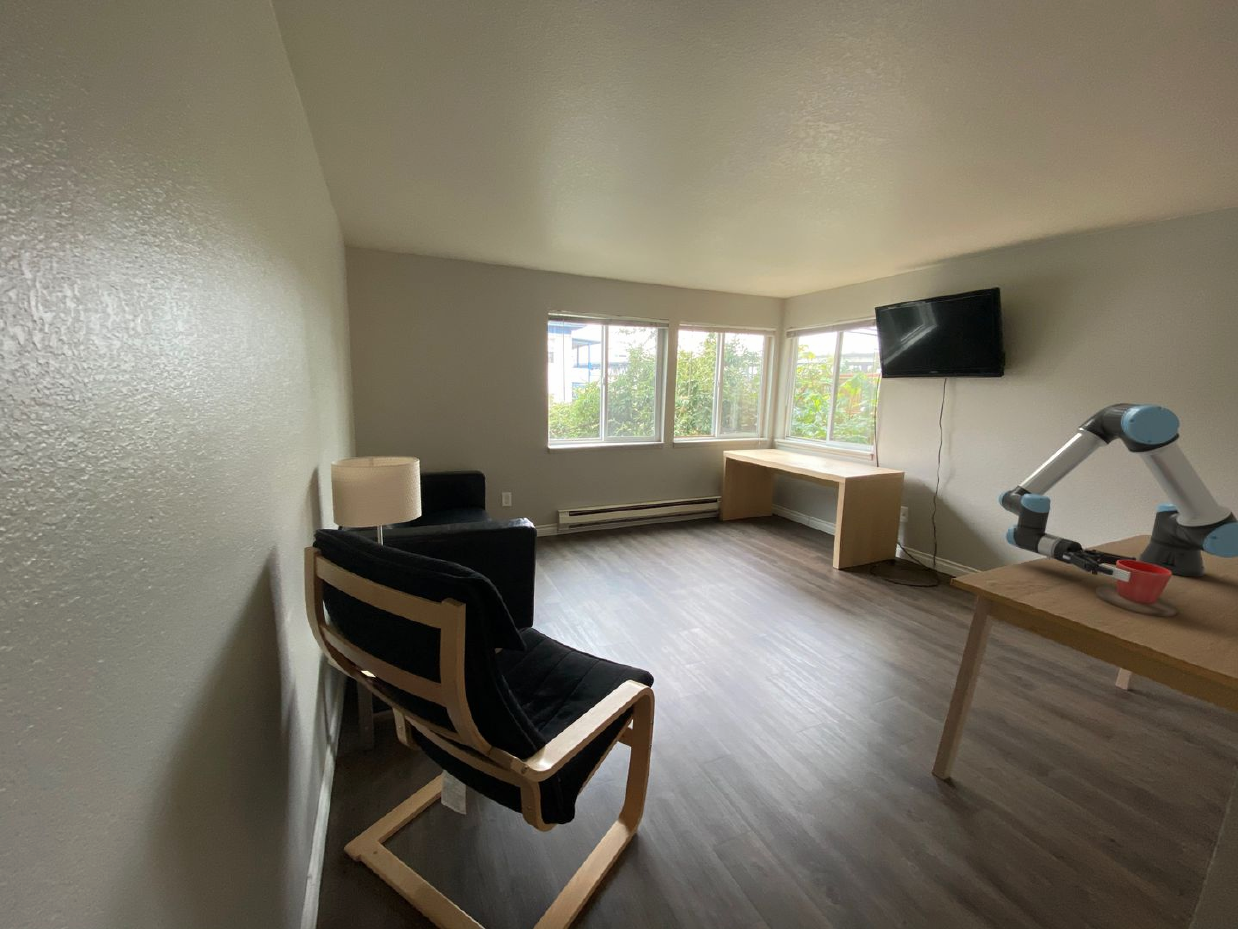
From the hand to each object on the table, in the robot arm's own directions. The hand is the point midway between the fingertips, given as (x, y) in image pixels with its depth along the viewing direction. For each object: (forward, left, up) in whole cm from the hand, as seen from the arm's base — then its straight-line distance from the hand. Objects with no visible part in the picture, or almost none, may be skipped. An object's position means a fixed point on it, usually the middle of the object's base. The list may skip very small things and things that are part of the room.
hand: (1145, 575), depth 136 cm
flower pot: (0, -1, -8) cm, 8 cm away
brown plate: (0, -1, -9) cm, 9 cm away
